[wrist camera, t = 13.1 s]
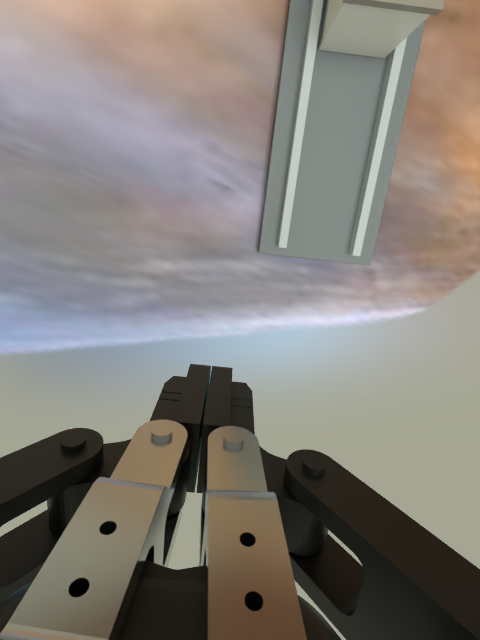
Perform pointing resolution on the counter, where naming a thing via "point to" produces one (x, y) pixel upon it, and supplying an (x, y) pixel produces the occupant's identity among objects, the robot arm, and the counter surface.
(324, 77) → the rail track
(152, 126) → the counter surface
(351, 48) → the keeper
